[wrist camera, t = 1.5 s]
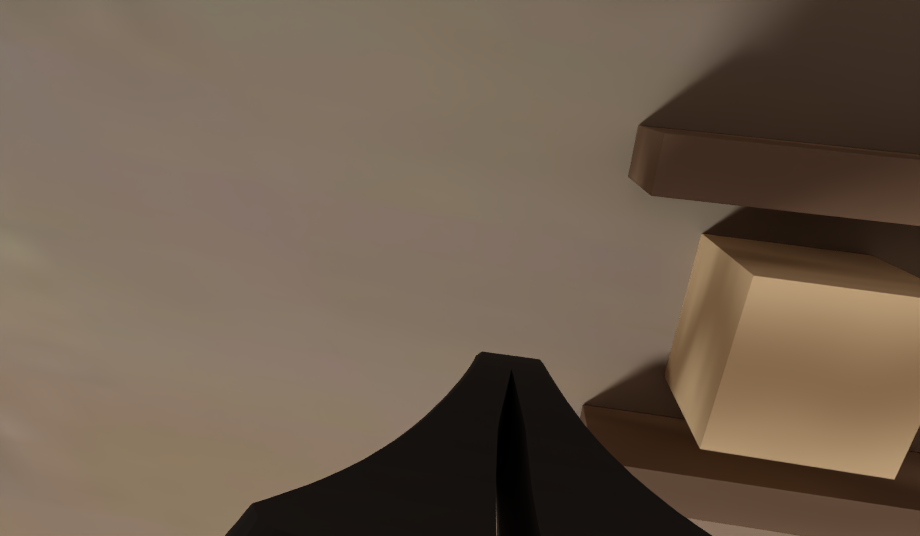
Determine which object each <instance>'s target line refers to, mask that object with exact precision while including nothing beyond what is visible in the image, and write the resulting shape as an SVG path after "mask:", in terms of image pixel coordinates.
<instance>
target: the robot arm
mask: <svg viewBox="0 0 920 536" xmlns="http://www.w3.org/2000/svg"><path fill="white" fill-rule="evenodd" d="M496 516H497V536H712V535H710V534H709V533H707V532H706V531H704V530H703V529H701V528H700V527H698V526H697V525H695V524H694V523H693V522H691V521H690V520H688V519H687V518H686V517H684V516H683V515H682V514H680V513H679V512H677V511H676V510H675V509H673V508H672V507H671V506H670V505H668V504H667V503H666V502H665V501H663V500H662V499H661V498H660V497H658V496H657V495H656V494H655V493H653V492H652V491H651V490H650V489H648V488H647V487H646V486H645V485H644V484H642V483H641V482H640V481H639V480H638V479H637V478H636V477H634V476H633V475H632V474H631V473H630V472H629V471H628V470H627V469H626V468H625V467H624V466H623V465H622V464H621V463H620V462H619V461H618V460H617V459H616V458H615V457H613V456H612V455H611V454H610V453H609V452H608V451H607V449H606V448H605V447H604V446H603V445H602V444H601V443H600V442H599V441H598V440H597V439H596V437H595V436H594V435H593V434H592V433H591V432H590V430H589V429H588V428H587V427H586V426H585V425H584V423H583V422H582V421H581V419H580V418H579V417H578V415H577V414H576V413H575V411H574V410H573V409H572V407H571V406H570V404H569V403H568V402H567V400H566V399H565V397H564V396H563V394H562V393H561V391H560V390H559V388H558V387H557V385H556V384H555V382H554V381H553V379H552V377H551V376H550V374H549V372H548V371H547V369H546V367H545V366H544V364H543V363H542V362H541V360H540V359H532V358H525V357H518V356H510V355H503V354H496V353H488V352H481V353H479V354H478V355H476V357H475V359H474V361H473V363H472V364H471V366H470V367H469V369H468V370H467V372H466V373H465V374H464V375H463V377H462V378H461V379H460V381H459V382H458V383H457V384H456V385H455V386H454V387H453V389H452V390H451V391H450V392H449V393H448V394H447V395H446V396H445V397H444V399H443V400H441V401H440V402H439V403H438V404H437V405H436V406H435V407H434V408H433V409H432V410H431V411H430V412H429V413H428V414H427V415H426V416H425V417H424V418H422V419H421V420H420V421H419V422H418V423H417V424H415V425H414V426H413V427H412V428H410V429H409V430H408V431H406V432H405V433H404V434H402V435H401V436H400V437H398V438H397V439H396V440H394V441H393V442H391V443H390V444H388V445H387V446H385V447H383V448H382V449H380V450H379V451H377V452H375V453H374V454H372V455H370V456H369V457H367V458H365V459H363V460H362V461H360V462H358V463H356V464H354V465H352V466H350V467H348V468H346V469H344V470H342V471H339V472H337V473H335V474H332V475H330V476H328V477H326V478H323V479H321V480H319V481H316V482H314V483H311V484H309V485H306V486H303V487H300V488H297V489H294V490H292V491H289V492H286V493H283V494H280V495H277V496H274V497H271V498H268V499H265V500H262V501H259V502H255V503H253V504H251V505H250V506H249V508H248V509H247V510H246V511H245V513H244V514H243V515H242V516H241V518H240V519H239V520H238V521H237V522H236V523H235V525H234V526H233V527H232V528H231V529H230V530H229V531H228V533H227V534H226V535H225V536H496Z"/></svg>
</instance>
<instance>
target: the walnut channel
mask: <svg viewBox="0 0 920 536" xmlns="http://www.w3.org/2000/svg"><path fill="white" fill-rule="evenodd" d="M628 177H629V178H630V179H631V180H633V181H634V182H635V183H636V184H638V185H639V186H640V187H641V188H642V189H644V190H645V191H646V192H647V193H649V194H650V195H651V196H659V197H668V198H677V199H685V200H694V201H703V202H712V203H721V204H730V205H738V206H747V207H756V208H765V209H774V210H783V211H791V212H800V213H809V214H818V215H827V216H836V217H845V218H853V219H862V220H871V221H880V222H889V223H898V224H906V225H915V226H920V155H919V154H909V153H899V152H890V151H880V150H870V149H861V148H851V147H841V146H832V145H822V144H812V143H803V142H793V141H784V140H774V139H764V138H755V137H745V136H735V135H726V134H716V133H706V132H697V131H687V130H678V129H668V128H658V127H649V126H639V125H638V130H637V135H636V140H635V145H634V150H633V155H632V160H631V165H630V170H629V175H628ZM580 419H581V421H582V422H583V423H584V425H585V426H586V427H587V428H588V429H589V430H590V432H591V433H592V434H593V435H594V436H595V437H596V439H597V440H598V441H599V442H600V443H601V444H602V445H603V446H604V447H605V448H606V449H607V451H608V452H609V453H610V454H611V455H612V456H613V457H615V458H616V459H617V460H618V461H619V462H620V463H621V464H622V465H623V466H624V467H625V468H626V469H627V470H628V471H629V472H630V473H631V474H632V475H633V476H634V477H636V478H637V479H638V480H639V481H640V482H641V483H642V484H644V485H645V486H646V487H647V488H648V489H650V490H651V491H652V492H653V493H655V494H656V495H657V496H658V497H660V498H661V499H662V500H663V501H665V502H666V503H667V504H668V505H670V506H671V507H672V508H673V509H675V510H676V511H677V512H679V513H680V514H682V515H683V516H684V517H686V518H692V519H698V520H704V521H711V522H717V523H723V524H730V525H736V526H743V527H749V528H755V529H762V530H768V531H775V532H781V533H787V534H794V535H800V536H920V453H916V452H909V451H908V452H907V454H906V456H905V458H904V460H903V462H902V464H901V467H900V469H899V471H898V473H897V475H896V477H895V479H888V478H882V477H875V476H869V475H862V474H856V473H850V472H843V471H837V470H831V469H824V468H818V467H812V466H805V465H799V464H793V463H786V462H780V461H774V460H767V459H761V458H754V457H748V456H742V455H735V454H729V453H723V452H716V451H710V450H704V449H700V448H699V446H698V444H697V442H696V440H695V438H694V436H693V434H692V432H691V430H690V428H689V425H688V423H687V421H686V420H685V419H678V418H671V417H664V416H657V415H650V414H643V413H636V412H629V411H622V410H615V409H608V408H601V407H594V406H587V405H583V407H582V412H581V417H580Z"/></svg>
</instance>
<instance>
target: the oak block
mask: <svg viewBox="0 0 920 536" xmlns="http://www.w3.org/2000/svg"><path fill="white" fill-rule="evenodd" d="M664 376H665V379H666V381H667V383H668V385H669V387H670V389H671V391H672V393H673V395H674V397H675V399H676V401H677V403H678V405H679V407H680V409H681V411H682V413H683V415H684V417H685V419H686V421H687V423H688V425H689V428H690V430H691V432H692V434H693V436H694V438H695V440H696V442H697V444H698V446H699V448H700V449H704V450H710V451H716V452H723V453H729V454H735V455H742V456H748V457H754V458H761V459H767V460H774V461H780V462H786V463H793V464H799V465H805V466H812V467H818V468H824V469H831V470H837V471H843V472H850V473H856V474H862V475H869V476H875V477H882V478H888V479H895V477H896V475H897V473H898V471H899V469H900V467H901V464H902V462H903V460H904V458H905V456H906V454H907V452H908V449H909V447H910V445H911V443H912V441H913V439H914V437H915V434H916V432H917V430H918V428H919V426H920V278H918V277H916V276H914V275H912V274H910V273H908V272H905V271H903V270H901V269H899V268H897V267H895V266H893V265H891V264H889V263H887V262H885V261H883V260H880V259H878V258H876V257H874V256H872V255H865V254H857V253H849V252H841V251H834V250H826V249H818V248H810V247H803V246H795V245H787V244H779V243H771V242H764V241H756V240H748V239H740V238H732V237H725V236H717V235H709V234H702V235H701V239H700V243H699V247H698V250H697V254H696V258H695V262H694V265H693V269H692V273H691V277H690V280H689V284H688V288H687V292H686V295H685V299H684V303H683V307H682V311H681V314H680V318H679V322H678V326H677V329H676V333H675V337H674V341H673V344H672V348H671V352H670V356H669V359H668V363H667V367H666V371H665V374H664Z"/></svg>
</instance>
